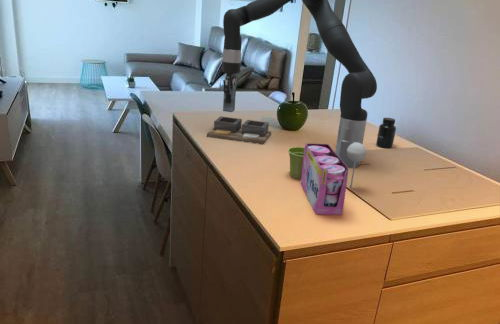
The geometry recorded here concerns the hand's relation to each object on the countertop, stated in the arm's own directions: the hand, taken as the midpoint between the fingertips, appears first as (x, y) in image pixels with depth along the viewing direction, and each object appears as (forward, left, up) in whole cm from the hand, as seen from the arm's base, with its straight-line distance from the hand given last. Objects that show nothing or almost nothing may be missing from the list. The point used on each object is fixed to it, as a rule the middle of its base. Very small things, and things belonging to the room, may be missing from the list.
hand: (229, 102), depth 188 cm
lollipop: (-43, -53, -14) cm, 70 cm away
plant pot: (-39, -36, -14) cm, 55 cm away
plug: (0, 0, -4) cm, 4 cm away
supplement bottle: (+11, -66, -14) cm, 68 cm away
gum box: (-55, -44, -14) cm, 72 cm away
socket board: (-2, -6, -13) cm, 15 cm away
